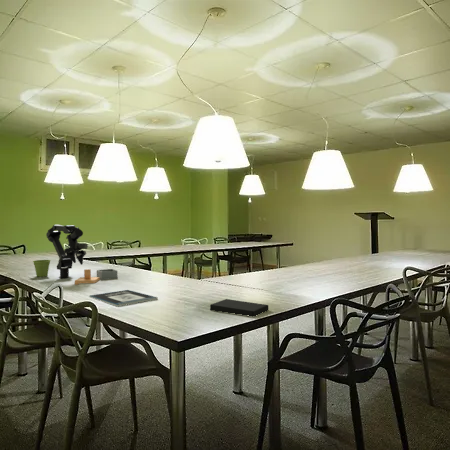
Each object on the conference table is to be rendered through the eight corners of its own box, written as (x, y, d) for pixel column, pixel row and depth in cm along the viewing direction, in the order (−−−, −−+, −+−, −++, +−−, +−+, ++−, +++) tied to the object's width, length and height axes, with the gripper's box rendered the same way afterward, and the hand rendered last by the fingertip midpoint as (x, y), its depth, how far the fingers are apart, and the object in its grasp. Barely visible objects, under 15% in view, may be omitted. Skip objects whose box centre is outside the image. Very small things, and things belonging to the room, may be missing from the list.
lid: (80, 281, 260) (80, 268, 260) (99, 280, 261) (99, 268, 261) (74, 284, 248) (74, 271, 247) (94, 284, 249) (94, 271, 248)
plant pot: (30, 276, 281) (29, 260, 280) (46, 274, 289) (46, 259, 289) (37, 278, 273) (36, 262, 272) (53, 276, 282) (53, 260, 281)
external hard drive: (253, 318, 169) (253, 311, 169) (210, 310, 181) (210, 304, 181) (268, 311, 181) (268, 304, 181) (226, 304, 193) (226, 298, 193)
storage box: (96, 278, 270) (96, 270, 270) (112, 277, 276) (112, 268, 276) (101, 280, 261) (101, 272, 261) (117, 279, 267) (117, 270, 267)
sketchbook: (127, 292, 227) (127, 288, 227) (158, 301, 204) (158, 296, 203) (89, 297, 211) (89, 293, 211) (118, 308, 188) (118, 303, 188)
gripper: (76, 235, 256) (82, 257, 252) (90, 240, 274) (95, 261, 270) (61, 241, 257) (67, 263, 253) (75, 246, 275) (81, 266, 271)
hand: (78, 263), depth 262 cm, fingers open, 9 cm apart
